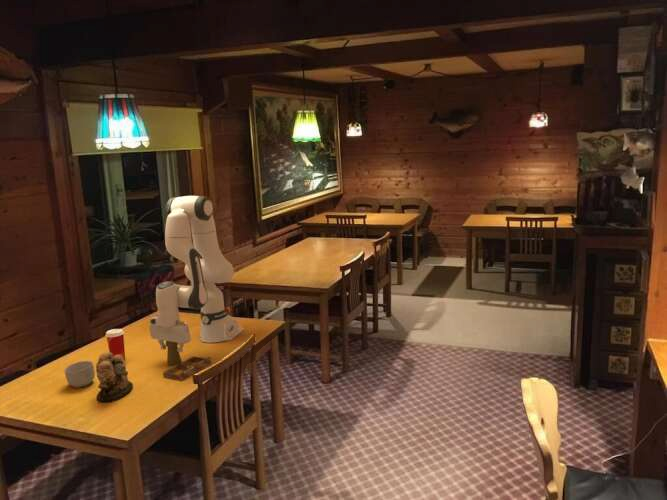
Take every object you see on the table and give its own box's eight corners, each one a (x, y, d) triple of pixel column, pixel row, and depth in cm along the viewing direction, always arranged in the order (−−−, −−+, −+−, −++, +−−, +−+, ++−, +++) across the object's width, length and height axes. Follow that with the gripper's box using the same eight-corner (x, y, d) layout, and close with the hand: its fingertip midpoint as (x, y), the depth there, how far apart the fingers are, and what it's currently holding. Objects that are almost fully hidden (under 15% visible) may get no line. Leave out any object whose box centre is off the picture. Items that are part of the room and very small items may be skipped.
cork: (177, 366, 240) (174, 341, 238) (164, 365, 241) (161, 341, 239) (183, 360, 246) (181, 336, 243) (171, 360, 247) (168, 336, 245)
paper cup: (115, 357, 253) (111, 328, 251) (131, 357, 252) (127, 328, 249) (105, 364, 246) (101, 334, 243) (121, 364, 244) (117, 334, 241)
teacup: (92, 388, 222) (89, 369, 220) (63, 391, 220) (60, 372, 219) (100, 374, 236) (97, 356, 234) (73, 377, 234) (70, 359, 232)
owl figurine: (119, 404, 207) (113, 361, 204) (89, 405, 208) (82, 362, 205) (139, 382, 225) (133, 342, 222) (110, 383, 226) (104, 343, 222)
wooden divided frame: (193, 360, 245) (192, 351, 244) (211, 363, 241) (210, 354, 240) (163, 377, 229) (162, 367, 228) (181, 380, 225) (180, 371, 224)
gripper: (192, 320, 237) (195, 351, 239) (156, 315, 246) (160, 345, 249) (182, 324, 232) (185, 356, 234) (146, 319, 241) (149, 349, 243)
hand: (171, 350), depth 242 cm, fingers open, 8 cm apart
